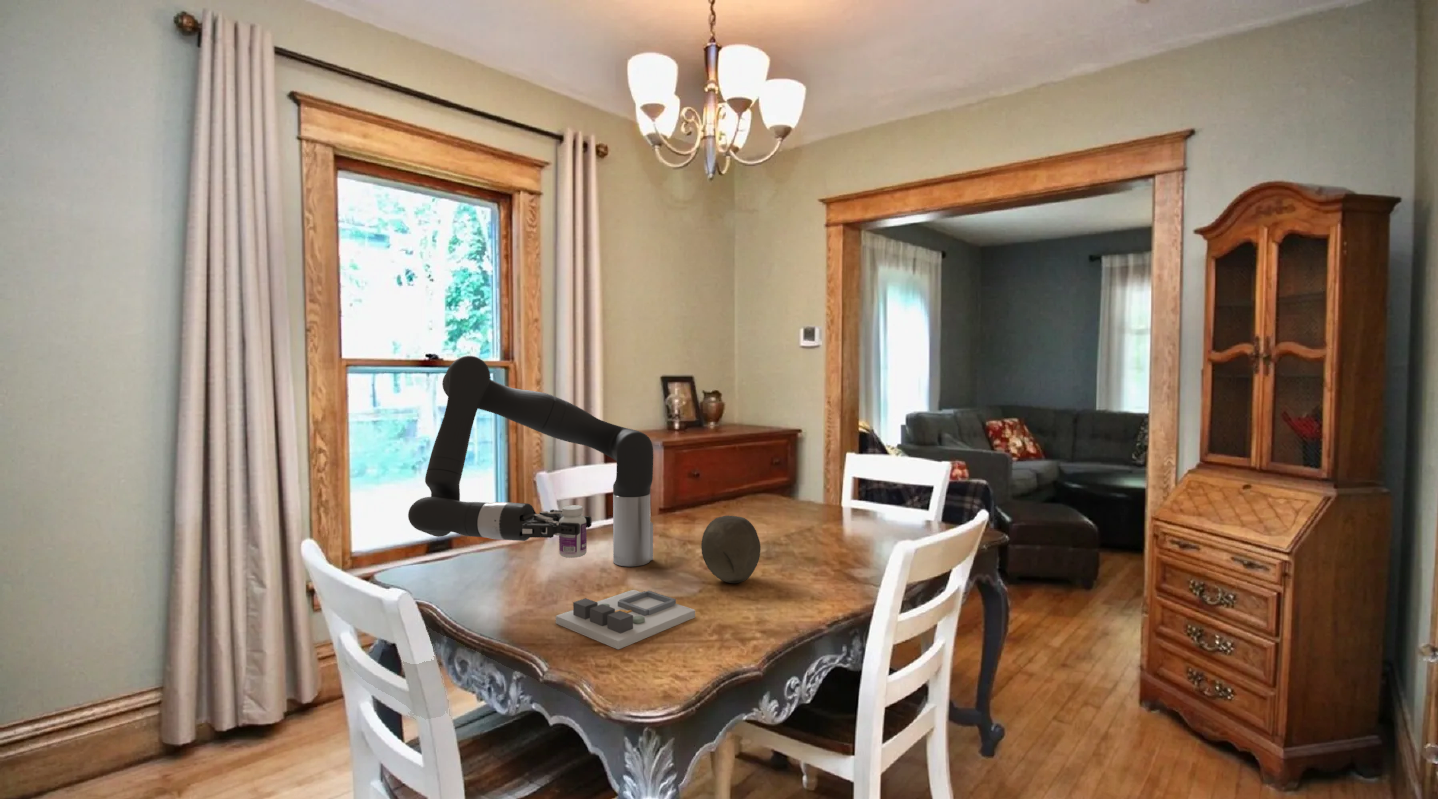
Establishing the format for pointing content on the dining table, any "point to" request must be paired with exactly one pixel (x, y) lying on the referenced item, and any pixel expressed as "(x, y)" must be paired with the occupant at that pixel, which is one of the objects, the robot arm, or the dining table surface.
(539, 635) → the dining table surface
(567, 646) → the dining table surface
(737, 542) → the dark grey rounded stone
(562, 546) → the pill bottle
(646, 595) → the board
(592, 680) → the dining table surface
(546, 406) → the robot arm
